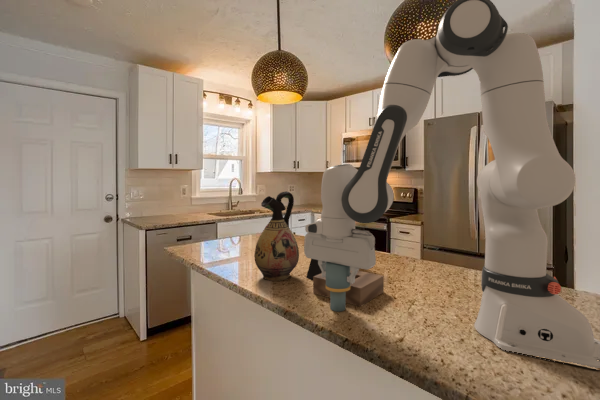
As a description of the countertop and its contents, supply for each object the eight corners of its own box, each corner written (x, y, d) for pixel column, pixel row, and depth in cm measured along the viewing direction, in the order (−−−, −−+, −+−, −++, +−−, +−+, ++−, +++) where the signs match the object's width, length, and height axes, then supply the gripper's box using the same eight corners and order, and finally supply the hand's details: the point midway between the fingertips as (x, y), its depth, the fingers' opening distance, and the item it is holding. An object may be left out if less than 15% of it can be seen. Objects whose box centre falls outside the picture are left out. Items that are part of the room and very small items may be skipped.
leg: (354, 307, 84) (355, 263, 83) (341, 315, 79) (341, 268, 78) (334, 301, 88) (334, 259, 87) (320, 308, 83) (320, 264, 82)
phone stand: (317, 282, 105) (317, 246, 104) (306, 277, 110) (306, 243, 109) (337, 277, 110) (337, 243, 110) (325, 273, 115) (326, 240, 114)
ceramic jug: (269, 287, 100) (268, 192, 98) (247, 275, 112) (245, 191, 110) (311, 277, 110) (311, 191, 108) (286, 267, 122) (286, 190, 120)
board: (383, 292, 95) (383, 275, 95) (360, 306, 85) (360, 288, 84) (338, 281, 106) (338, 266, 105) (313, 292, 95) (313, 276, 95)
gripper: (380, 229, 78) (380, 284, 79) (314, 222, 91) (314, 270, 92) (368, 233, 73) (367, 291, 74) (300, 225, 86) (300, 275, 87)
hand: (337, 279), depth 83 cm, fingers closed on leg, 6 cm apart
